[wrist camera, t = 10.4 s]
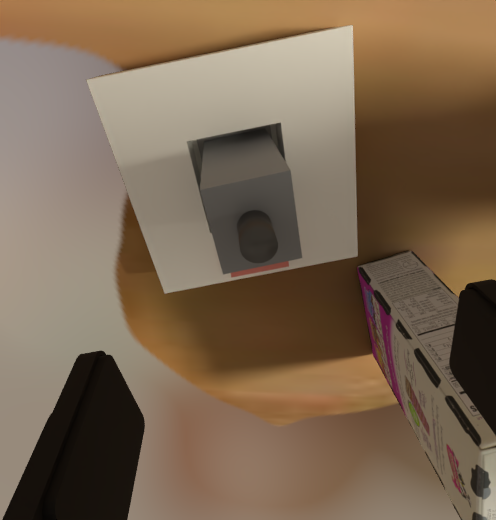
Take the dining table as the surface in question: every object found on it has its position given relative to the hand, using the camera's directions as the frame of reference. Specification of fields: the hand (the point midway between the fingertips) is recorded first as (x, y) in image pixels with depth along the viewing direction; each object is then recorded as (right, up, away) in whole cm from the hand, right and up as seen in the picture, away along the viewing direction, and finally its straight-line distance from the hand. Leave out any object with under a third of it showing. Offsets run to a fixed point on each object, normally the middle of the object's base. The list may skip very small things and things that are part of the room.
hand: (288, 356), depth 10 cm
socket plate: (-2, +9, +15) cm, 18 cm away
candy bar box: (+12, -1, +23) cm, 26 cm away
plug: (-2, +9, +15) cm, 17 cm away
